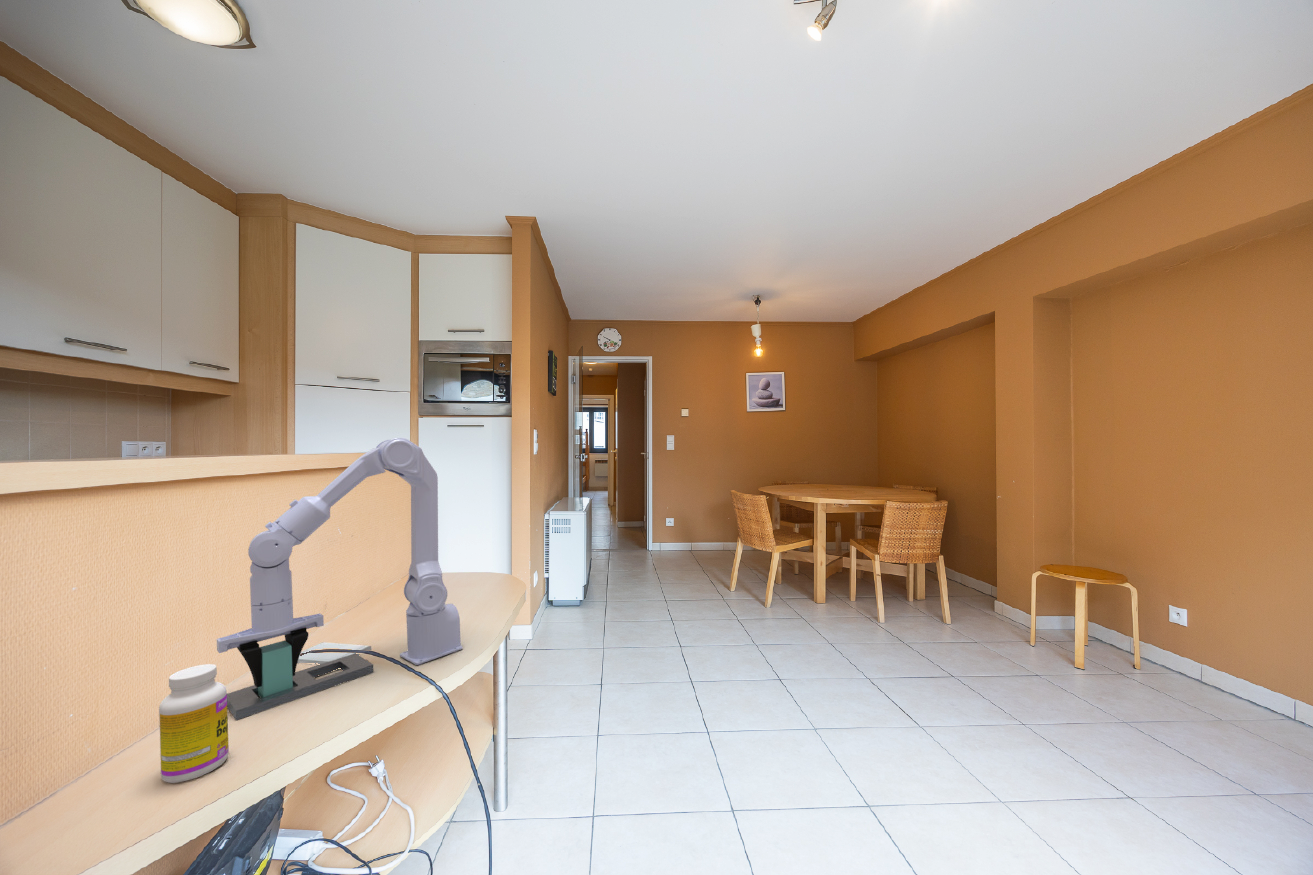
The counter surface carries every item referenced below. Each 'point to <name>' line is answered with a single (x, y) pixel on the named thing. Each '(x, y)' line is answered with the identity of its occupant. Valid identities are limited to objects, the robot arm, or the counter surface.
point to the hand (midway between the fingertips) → (274, 679)
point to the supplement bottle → (193, 724)
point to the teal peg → (276, 668)
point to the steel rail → (299, 685)
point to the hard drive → (327, 657)
